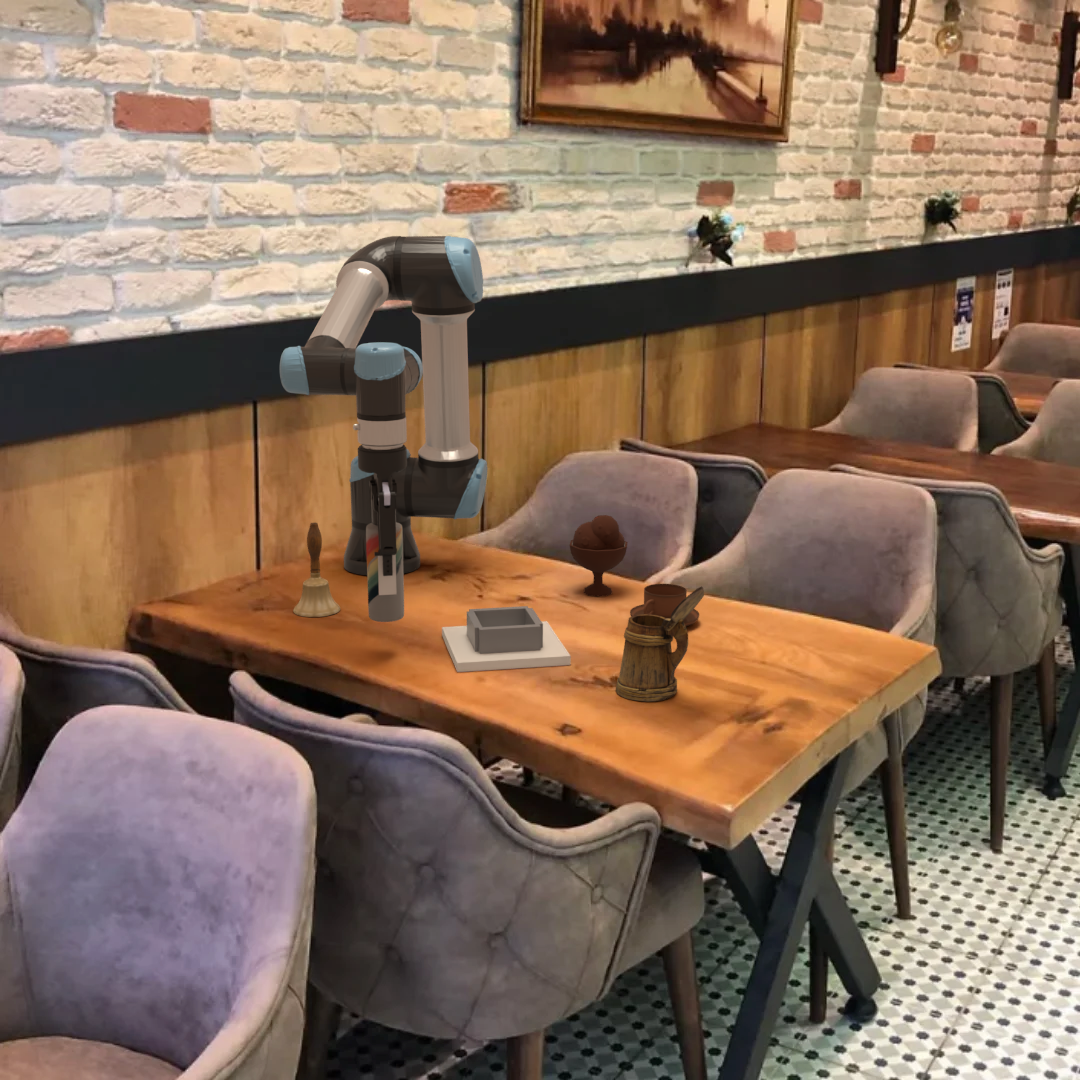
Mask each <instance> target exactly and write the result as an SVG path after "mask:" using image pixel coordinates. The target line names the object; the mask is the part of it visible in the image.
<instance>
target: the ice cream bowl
mask: <svg viewBox="0 0 1080 1080" xmlns="http://www.w3.org/2000/svg"><path fill="white" fill-rule="evenodd" d="M628 542H629V541H626V540H625V538H624V535H623V533H622V532H620V526H619V524H618V521H617V520H616V519H615V518H614V517H613V516H611V515H607V514H603V515H597V516H595V517H594V518H593V519H592V520H591V521H587V522H584V523H582V524H580V525H579V526H578V527H577V529H576V530H575V531H574V535H573V539H572V540H570V542H569V549H570V550H569V551H570V554H571V556H572V558H573V560H574V561H575V562H576V563H577V564H578V565H579V566H581V567H582V568H584V569H586V570H588V571H590V572H592V576H593V579H592V580H593V581H592V582H593V583H591V584H589V585H587V586H585V587H584V589H583V592H582V593H583V594H584V595H587V596H591V597H607V596H610V595H612V594H613V590H612V588H611V587H609V586H607V585H606V584H604V583H603V582H604V581H603V579H604V578H603V576H604V574H605V572H608V571H610V570H613V569H614V568H616V567H617V566H618V565H619V564H620V563H622V561H623V560H624V559H625V558H624V557H625V556H626V553H627V549H628Z"/></svg>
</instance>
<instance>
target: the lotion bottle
mask: <svg viewBox="0 0 1080 1080" xmlns="http://www.w3.org/2000/svg"><path fill="white" fill-rule="evenodd" d="M377 505H378V506H379V504H378V503H377ZM371 508H372V523H370V524H368V525H367V526H366V547H367V575H366V576H367V606H368V607H367V608H368V617H369V619H370V620H372V621H374V622H380V623H388V622H389V623H390V622H396V621H399V620H401V619H404V616H405V588H404V587H405V584H404V583H405V580H404V576H405V575H404V574H403V533H402V525H401V524H400V523H397V522H396V548H397V553H396V592H397V594H393V595H379V582H378V556H374V552H378V550H379V541H378V521H377V512H376V511H374V506H373V498H372V499H371ZM395 518H396V510H395Z"/></svg>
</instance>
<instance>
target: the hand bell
mask: <svg viewBox="0 0 1080 1080" xmlns="http://www.w3.org/2000/svg"><path fill="white" fill-rule="evenodd" d="M308 528H309V529H308V531H307V536H306V544H307V545H306V546H307V551H308V553H309V557H310V571H309V572H310V573H309V574H310V575H309V576H310V577H309V578H307V579H306V580H304V581H303V583H302V591H301V597H300V599H299V601H298V603H297V604H296V605H295V606H294V608H293V613H294V614H295V615H296V616H301V617H303V618H304V617H306V618H322V617H328V616H332V615H335V614H337V613H339V612H340V610H341V607H340V605H339V603H337V602H336V601H335V599H334V598H333V595H332V593H331V590H330V585H329V581H328V579H326V578H324V577H322V576H321V566H320V556H321V553H322V547H323V546H322V545H323V544H322V543H323V538H322V533H321V530H320V527H319V524H318V522H310V524H309V527H308Z"/></svg>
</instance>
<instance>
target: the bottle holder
mask: <svg viewBox="0 0 1080 1080" xmlns="http://www.w3.org/2000/svg"><path fill="white" fill-rule="evenodd" d="M441 636H442V639H443V642H444V644H445V646H446V649H447V651H448V653H449V655H450V659H451V661H452V662H453V663H452V664H453V665H454V668H455V670H456V672H457V673H465V672H478V671H479V672H481V671H497V670H510V669H511V670H512V669H513V670H514V669H525V668H526V669H529V668H540V667H541V668H542V667H543V668H545V667H559V666H571V663H572V662H571V660H572V659H571V653H569V651H568V650H567V649H566V647H565V645H564V644H563V642H562V641H561V640H560V639H559V637H558V635H557V634H556V633H555V630H553V627H552V626H551V625H550V623H549V622H548V621H547V620H545V621H542V620H541V619H540V617H539V616H538V614H537V613H536V611H535V610H534V609H533V607H529V606H528V605H525V606H523V605H521V606H505V607H483V608H470V609H469V610H468V611H466V625H457V626H441Z"/></svg>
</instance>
